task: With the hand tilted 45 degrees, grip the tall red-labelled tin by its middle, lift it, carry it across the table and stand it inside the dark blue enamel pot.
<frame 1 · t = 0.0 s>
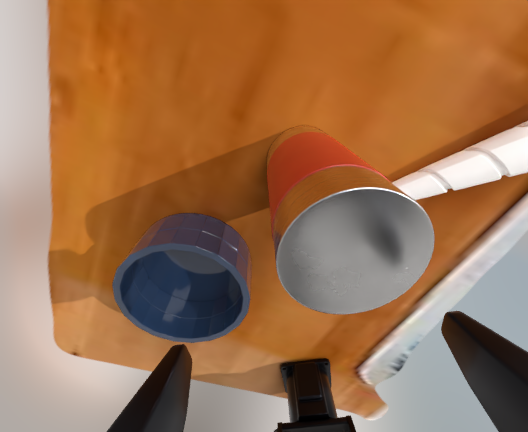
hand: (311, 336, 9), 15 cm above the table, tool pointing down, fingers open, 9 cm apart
unicorn horn: (475, 157, 21), on the table
pot: (195, 261, 25), on the table
tin: (301, 162, 21), on the table
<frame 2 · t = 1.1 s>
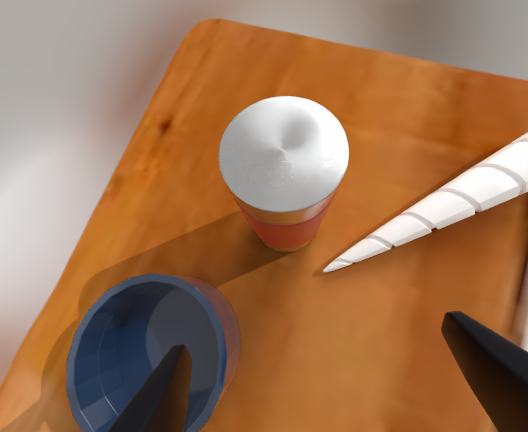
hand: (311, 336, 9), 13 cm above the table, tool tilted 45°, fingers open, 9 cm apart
unicorn horn: (447, 209, 23), on the table
pot: (176, 343, 22), on the table
tin: (285, 221, 24), on the table
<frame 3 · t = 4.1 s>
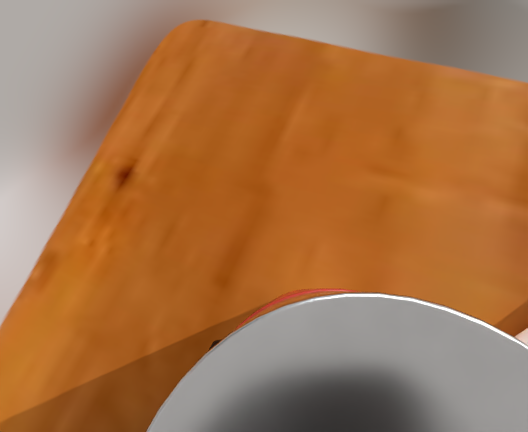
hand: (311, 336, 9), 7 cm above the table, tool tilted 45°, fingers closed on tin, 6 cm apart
tin: (306, 342, 15), on the table, touching gripper
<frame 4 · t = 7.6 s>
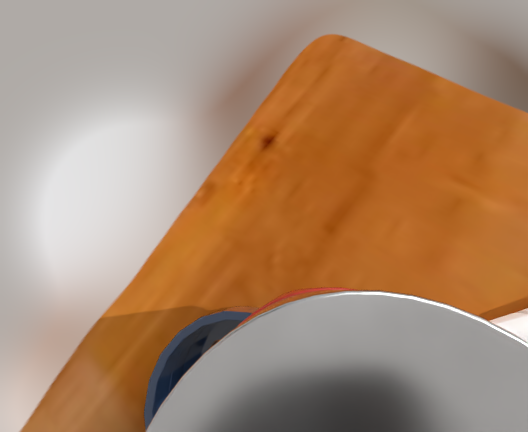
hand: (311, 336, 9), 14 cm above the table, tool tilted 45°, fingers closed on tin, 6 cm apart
pot: (243, 378, 21), on the table
tin: (306, 341, 15), point 7 cm above the table, touching gripper
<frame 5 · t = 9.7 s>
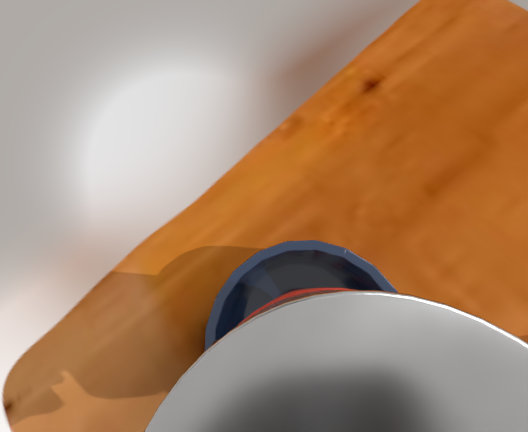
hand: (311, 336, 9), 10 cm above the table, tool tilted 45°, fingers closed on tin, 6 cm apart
pot: (302, 329, 18), on the table
tin: (306, 341, 15), point 4 cm above the table, touching gripper
when the fingers open (7 cm above the table, at t = 11.2 s): tin stays where it is, resting on pot.
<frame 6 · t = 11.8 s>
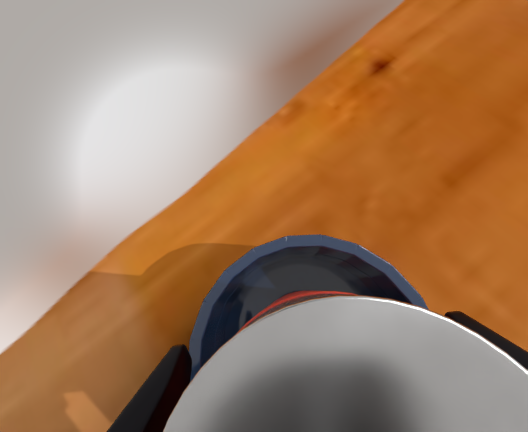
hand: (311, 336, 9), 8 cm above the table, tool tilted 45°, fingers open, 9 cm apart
pot: (305, 339, 16), on the table
tin: (306, 341, 15), resting on pot
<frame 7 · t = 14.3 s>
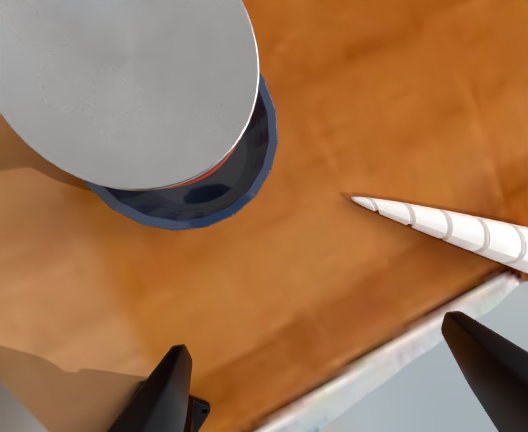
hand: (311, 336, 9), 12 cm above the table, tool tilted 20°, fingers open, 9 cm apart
unicorn horn: (455, 233, 25), on the table
pot: (187, 142, 19), on the table
tin: (186, 141, 18), resting on pot
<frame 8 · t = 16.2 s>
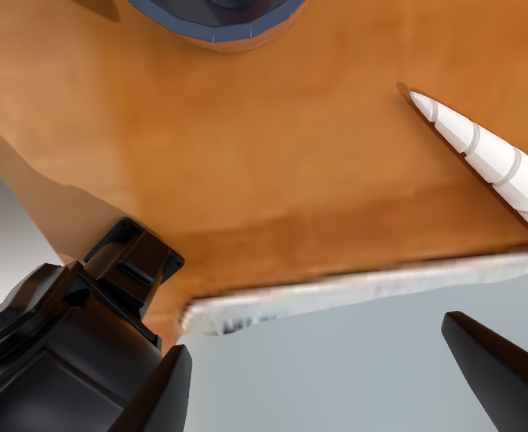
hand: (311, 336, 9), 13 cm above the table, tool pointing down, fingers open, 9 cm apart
unicorn horn: (510, 187, 21), on the table
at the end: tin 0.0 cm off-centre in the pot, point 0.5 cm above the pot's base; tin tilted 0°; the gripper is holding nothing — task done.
